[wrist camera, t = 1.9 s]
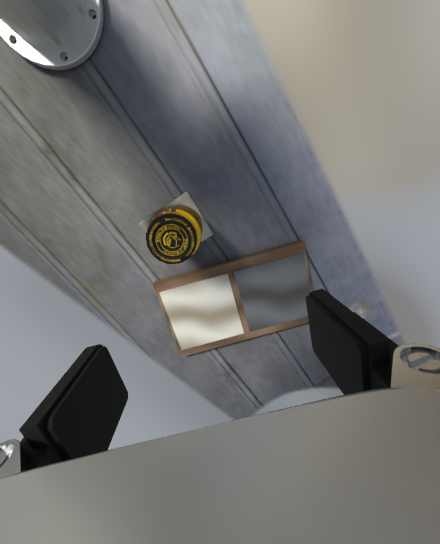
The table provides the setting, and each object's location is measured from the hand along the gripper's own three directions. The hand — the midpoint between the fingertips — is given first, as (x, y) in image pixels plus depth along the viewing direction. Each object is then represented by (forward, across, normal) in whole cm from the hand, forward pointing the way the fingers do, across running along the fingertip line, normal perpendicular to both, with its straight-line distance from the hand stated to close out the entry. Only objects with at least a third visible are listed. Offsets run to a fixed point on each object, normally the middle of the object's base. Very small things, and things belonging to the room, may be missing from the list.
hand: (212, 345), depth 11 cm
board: (+27, -2, +11) cm, 29 cm away
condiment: (+27, +4, -3) cm, 27 cm away
